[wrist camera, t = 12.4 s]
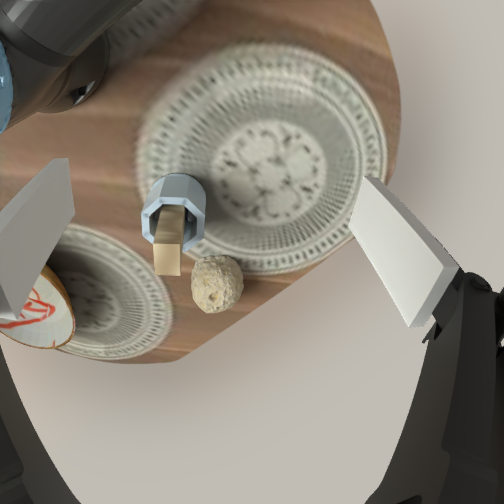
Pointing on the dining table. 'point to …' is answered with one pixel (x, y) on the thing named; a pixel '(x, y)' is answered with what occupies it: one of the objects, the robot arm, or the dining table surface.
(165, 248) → the tan bar
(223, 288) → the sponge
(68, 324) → the bowl
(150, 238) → the jar
